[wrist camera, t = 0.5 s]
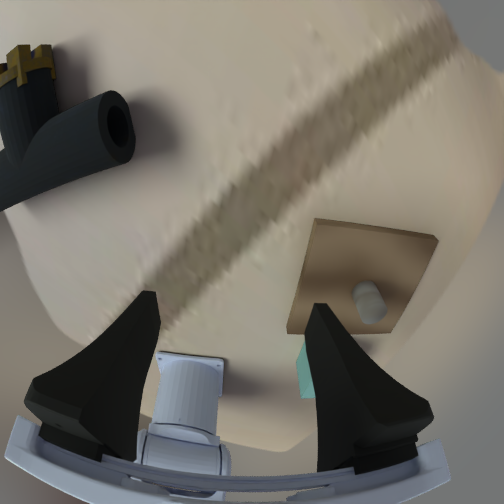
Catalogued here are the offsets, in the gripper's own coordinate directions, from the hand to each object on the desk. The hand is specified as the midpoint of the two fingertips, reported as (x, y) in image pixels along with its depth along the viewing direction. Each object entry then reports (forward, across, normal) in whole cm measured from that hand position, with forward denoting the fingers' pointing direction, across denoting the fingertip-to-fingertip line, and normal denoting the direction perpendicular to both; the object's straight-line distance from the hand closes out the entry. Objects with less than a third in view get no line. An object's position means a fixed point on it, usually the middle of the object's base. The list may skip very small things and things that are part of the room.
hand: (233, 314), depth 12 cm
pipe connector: (+10, +16, -8) cm, 21 cm away
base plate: (+10, -12, +5) cm, 16 cm away
